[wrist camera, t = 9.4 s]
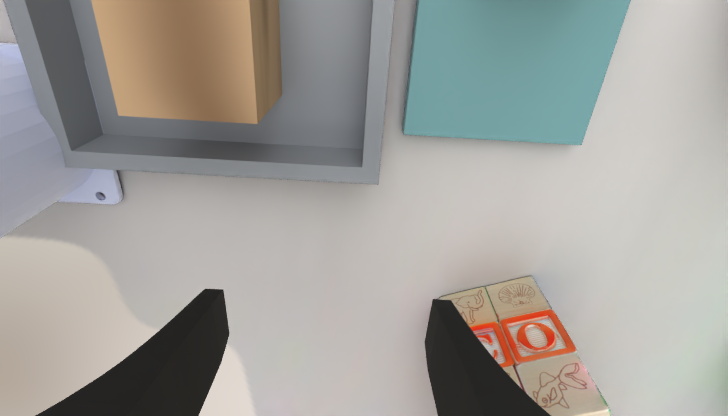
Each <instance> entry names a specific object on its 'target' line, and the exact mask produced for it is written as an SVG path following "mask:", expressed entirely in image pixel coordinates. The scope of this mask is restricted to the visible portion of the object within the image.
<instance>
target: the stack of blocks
mask: <svg viewBox="0 0 728 416" xmlns="http://www.w3.org/2000/svg"><path fill="white" fill-rule="evenodd" d="M439 300H451V301H452V303H453V304H454V305H455V307H456V308H457V310H458V311H459V313H460V314H461V316H462V317H463V318H464V320H465V321H466V323H467V324H468V325H469V327H470V328H471V330H472V331H473V332H474V334H475V335H476V336H477V338H478V339H479V340H480V341H481V343H482V344H483V345H484V347H485V348H486V349H487V350H488V352H489V353H490V354H491V355H492V357H493V358H494V359H495V360H496V361H497V362H498V364H499V365H500V366H501V367H502V368H503V369H504V371H505V372H506V373H507V374H508V375H509V376H510V377H511V378H512V379H513V380H514V381H515V382H516V383H517V384H518V385H519V386H520V387H521V388H522V389H523V390H524V391H525V392H526V393H527V394H528V395H529V396H530V397H531V398H532V399H533V400H534V401H535V402H536V403H537V404H538V405H539V406H541V407H542V408H543V409H544V410H545V411H546V412H548V413H549V414H550V415H551V416H611V412H610V409H609V407H608V405H607V403H606V401H605V400H604V398H603V396H602V395H601V393H600V391H599V389H598V388H597V386H596V385H595V383H594V381H593V380H592V378H591V376H590V375H589V373H588V371H587V370H586V368H585V366H584V365H583V363H582V361H581V360H580V358H579V357H578V355H577V349H576V347H575V345H574V343H573V342H572V340H571V338H570V337H569V335H568V333H567V332H566V330H565V328H564V327H563V325H562V323H561V322H560V320H559V319H558V317H557V315H556V314H555V312H554V311H553V310H552V308H551V306H550V305H549V303H548V301H547V300H546V298H545V297H544V295H543V293H542V291H541V290H540V289H539V287H538V285H537V283H536V282H535V280H534V278H533V277H532V276H529V277H524V278H519V279H515V280H510V281H506V282H502V283H498V284H494V285H490V286H487V287H479V288H475V289H471V290H467V291H463V292H459V293H454V294H450V295H447V296H443V297H440V298H439Z"/></svg>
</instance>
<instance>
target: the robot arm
mask: <svg viewBox="0 0 728 416" xmlns="http://www.w3.org/2000/svg"><path fill="white" fill-rule="evenodd" d="M84 62H85V60H84ZM85 65H86V63H85ZM86 69H87V67H86ZM87 73H88V70H87ZM88 77H89V74H88ZM89 81H90V78H89ZM90 85H91V82H90ZM91 88H92V86H91ZM92 92H93V90H92ZM93 96H94V93H93ZM94 100H95V97H94ZM95 104H96V101H95ZM96 108H97V105H96ZM97 111H98V109H97ZM98 115H99V113H98ZM99 119H100V117H99ZM100 123H101V120H100ZM101 127H102V124H101ZM102 131H103V128H102ZM103 134H104V132H103ZM100 192H102V193H103V194H104V195H105V196H106V197H103V196H102V195H101V194H100ZM122 198H123V193H122V189H121V186H120V182H119V178H118V174H117V170H106V169H88V168H70V167H65V162H64V158H63V153H62V149H61V147H60V145H59V142H58V140H57V138H56V135H55V134H54V132H53V131H52V129H51V127H50V126H49V124H48V123H47V121H46V120H45V118H44V117H43V116H42V115H41V113H40V110H39V107H38V104H37V101H36V98H35V95H34V92H33V89H32V86H31V83H30V80H29V77H28V74H27V71H26V68H25V64H24V61H23V58H22V55H21V52H20V49H19V46H18V44H15V43H0V238H2V237H3V236H5V235H6V234H8V233H9V232H11V231H12V230H14V229H15V228H17V227H19V226H20V225H22V224H23V223H25V222H26V221H28V220H29V219H31V218H32V217H34V216H35V215H37V214H38V213H40V212H41V211H43V210H44V209H46V208H47V207H49V206H50V205H52V204H53V203H55V202H74V203H93V204H112V205H113V204H117V203H119V202H120V201H121V200H122ZM228 337H229V328H228V320H227V313H226V306H225V299H224V291H223V290H219V289H205V290H203V291H202V292H201V293H200V294H199V295H198V296H197V297H196V298H195V299H193V300H192V301H191V302H190V303H189V304H188V305H187V306H186V307H185V308H184V309H183V310H182V311H181V312H180V313H178V314H177V315H176V316H175V317H174V318H173V319H172V320H171V321H170V322H169V323H167V324H166V325H165V326H164V327H163V328H162V329H161V330H160V331H159V332H157V333H156V334H155V335H154V336H153V337H151V338H150V339H149V340H148V341H147V342H146V343H144V344H143V345H142V346H140V347H139V348H138V349H137V350H136V351H134V352H133V353H132V354H131V355H129V356H128V357H127V358H125V359H124V360H123V361H122V362H120V363H119V364H117V365H116V366H115V367H113V368H112V369H110V370H109V371H107V372H106V373H105V374H103V375H102V376H100V377H99V378H97V379H96V380H94V381H93V382H91V383H89V384H88V385H86V386H85V387H83V388H81V389H80V390H78V391H77V392H75V393H74V394H72V395H70V396H69V397H67V398H66V399H64V400H62V401H61V402H59V403H57V404H55V405H54V406H52V407H50V408H48V409H47V410H45V411H43V412H41V413H39V414H38V415H36V416H198V415H199V413H200V411H201V408H202V406H203V404H204V401H205V399H206V397H207V394H208V392H209V390H210V387H211V385H212V383H213V380H214V378H215V376H216V373H217V371H218V369H219V366H220V364H221V361H222V357H223V354H224V351H225V348H226V344H227V340H228ZM425 349H426V358H427V367H428V373H429V378H430V382H431V386H432V391H433V395H434V400H435V404H436V408H437V413H438V416H551V415H550V414H549V413H548V412H546V411H545V410H544V409H543V408H542V407H541V406H539V405H538V404H537V403H536V402H535V401H534V400H533V399H532V398H531V397H530V396H529V395H528V394H527V393H526V392H525V391H524V390H523V389H522V388H521V387H520V386H519V385H518V384H517V383H516V382H515V381H514V380H513V379H512V378H511V377H510V376H509V375H508V374H507V373H506V372H505V371H504V369H503V368H502V367H501V366H500V365H499V364H498V362H497V361H496V360H495V359H494V358H493V357H492V355H491V354H490V353H489V352H488V350H487V349H486V348H485V347H484V345H483V344H482V343H481V341H480V340H479V339H478V338H477V336H476V335H475V334H474V332H473V331H472V330H471V328H470V327H469V325H468V324H467V323H466V321H465V320H464V318H463V317H462V316H461V314H460V313H459V311H458V310H457V308H456V307H455V305H454V304H453V303H452V301H451V300H438V299H433V301H432V307H431V312H430V317H429V322H428V328H427V333H426V338H425Z"/></svg>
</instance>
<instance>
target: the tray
mask: <svg viewBox="0 0 728 416" xmlns="http://www.w3.org/2000/svg"><path fill="white" fill-rule="evenodd" d="M3 1H4V4H5V7H6V10H7V13H8V16H9V19H10V22H11V25H12V28H13V31H14V34H15V37H16V40H17V43H18V46H19V49H20V52H21V55H22V58H23V61H24V64H25V68H26V71H27V74H28V77H29V80H30V83H31V86H32V89H33V92H34V95H35V98H36V101H37V104H38V107H39V110H40V113H41V115H42V116H43V117H44V118H45V120H46V121H47V123H48V124H49V126H50V127H51V129H52V131H53V132H54V134H55V135H56V138H57V140H58V142H59V145H60V147H61V149H62V153H63V158H64V162H65V167H70V168H88V169H106V170H124V171H142V172H160V173H178V174H196V175H214V176H232V177H250V178H268V179H287V180H305V181H323V182H341V183H359V184H377V185H378V184H379V172H380V161H381V150H382V138H383V127H384V116H385V104H386V93H387V82H388V70H389V59H390V48H391V36H392V25H393V14H394V2H395V0H279V16H280V44H281V72H282V96H281V97H280V98H279V99H278V100H277V102H276V103H275V104H274V105H273V106H272V108H271V109H270V110H269V111H268V112H267V113H266V115H265V116H264V117H263V118H262V119H261V121H260V122H259V123H258V124H249V123H232V122H216V121H199V120H182V119H166V118H149V117H132V116H118V112H117V107H116V103H115V99H114V95H113V90H112V86H111V82H110V78H109V74H108V69H107V65H106V61H105V57H104V52H103V48H102V44H101V40H100V35H99V31H98V27H97V23H96V19H95V14H94V10H93V6H92V2H91V0H3ZM84 60H85V62H84ZM85 63H86V65H85ZM86 67H87V69H86ZM87 70H88V73H87ZM88 74H89V77H88ZM89 78H90V81H89ZM90 82H91V85H90ZM91 86H92V88H91ZM92 90H93V92H92ZM93 93H94V96H93ZM94 97H95V100H94ZM95 101H96V104H95ZM96 105H97V108H96ZM97 109H98V111H97ZM98 113H99V115H98ZM99 117H100V119H99ZM100 120H101V123H100ZM101 124H102V127H101ZM102 128H103V131H102ZM103 132H104V134H103Z"/></svg>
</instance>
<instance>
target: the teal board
mask: <svg viewBox="0 0 728 416" xmlns="http://www.w3.org/2000/svg"><path fill="white" fill-rule="evenodd" d="M630 1H631V0H417V3H416V12H415V21H414V30H413V39H412V48H411V57H410V65H409V74H408V83H407V92H406V101H405V110H404V119H403V128H402V130H403V134H405V135H421V136H438V137H455V138H471V139H488V140H505V141H522V142H538V143H555V144H572V145H582V142H583V139H584V136H585V133H586V130H587V127H588V124H589V121H590V118H591V115H592V112H593V109H594V106H595V104H596V101H597V98H598V95H599V92H600V89H601V86H602V83H603V80H604V77H605V74H606V71H607V68H608V65H609V62H610V59H611V57H612V54H613V51H614V48H615V45H616V42H617V39H618V36H619V33H620V30H621V27H622V24H623V21H624V18H625V15H626V12H627V10H628V7H629V4H630Z"/></svg>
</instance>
